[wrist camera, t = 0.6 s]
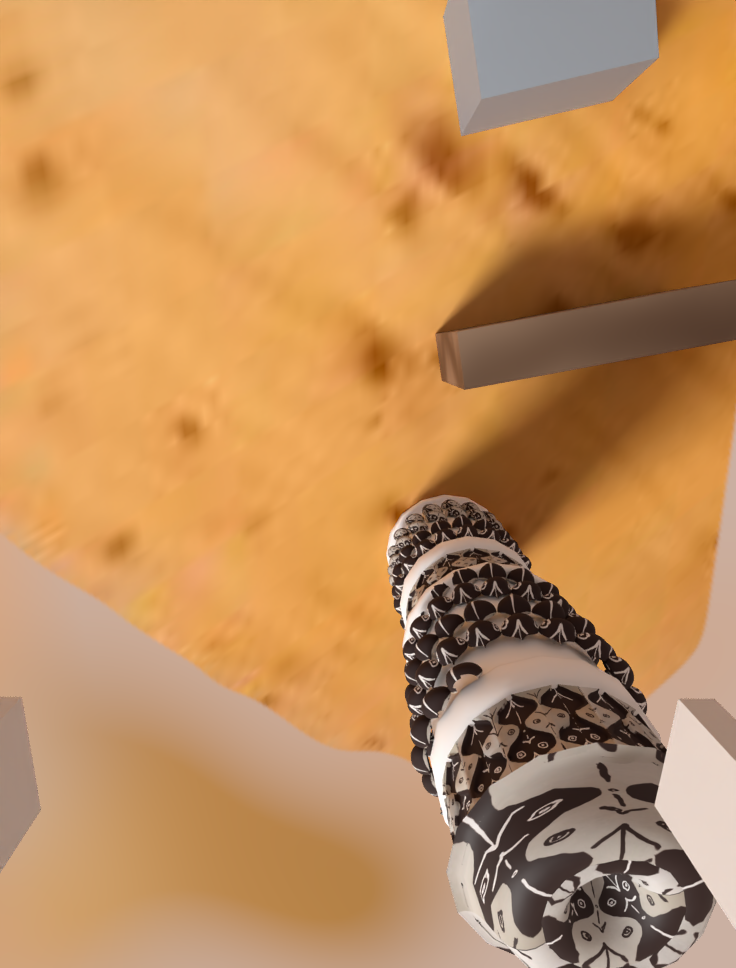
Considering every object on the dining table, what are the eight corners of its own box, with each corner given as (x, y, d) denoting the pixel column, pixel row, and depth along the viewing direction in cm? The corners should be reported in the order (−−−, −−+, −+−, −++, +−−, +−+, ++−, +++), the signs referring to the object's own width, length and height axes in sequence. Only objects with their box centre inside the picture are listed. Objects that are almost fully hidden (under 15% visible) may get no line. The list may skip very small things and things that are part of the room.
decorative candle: (412, 628, 39) (516, 1084, 15) (359, 523, 37) (379, 862, 13) (526, 578, 38) (824, 974, 14) (478, 467, 36) (739, 718, 12)
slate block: (442, 18, 30) (461, -46, 25) (600, -20, 29) (650, -91, 25) (460, 137, 31) (481, 99, 26) (610, 102, 31) (659, 57, 26)
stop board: (435, 333, 34) (457, 331, 27) (666, 291, 34) (746, 277, 27) (442, 380, 35) (464, 389, 28) (667, 338, 34) (745, 337, 28)
